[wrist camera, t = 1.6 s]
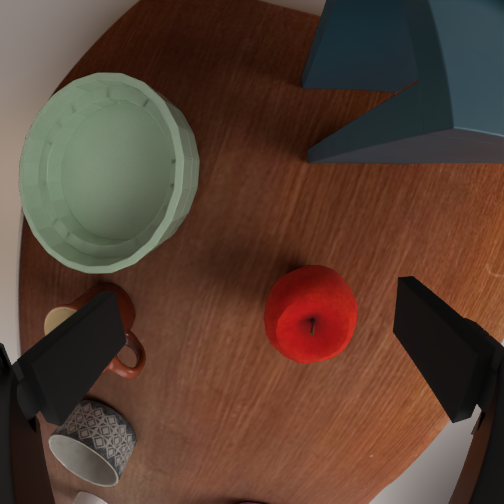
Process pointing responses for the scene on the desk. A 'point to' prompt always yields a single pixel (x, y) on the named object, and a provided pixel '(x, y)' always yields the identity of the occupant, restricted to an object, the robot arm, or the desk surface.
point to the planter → (94, 443)
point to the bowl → (107, 172)
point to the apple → (310, 314)
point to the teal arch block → (413, 79)
